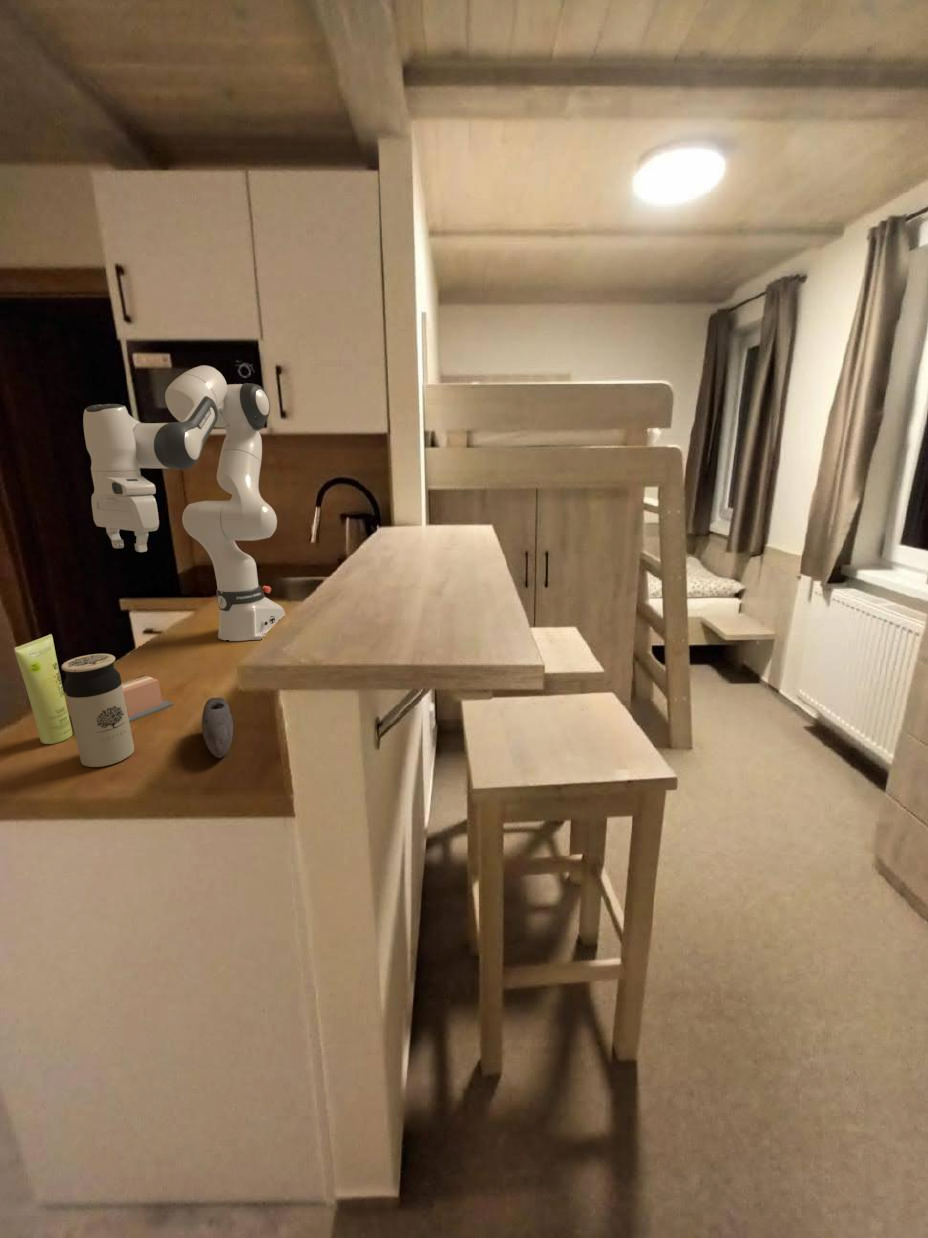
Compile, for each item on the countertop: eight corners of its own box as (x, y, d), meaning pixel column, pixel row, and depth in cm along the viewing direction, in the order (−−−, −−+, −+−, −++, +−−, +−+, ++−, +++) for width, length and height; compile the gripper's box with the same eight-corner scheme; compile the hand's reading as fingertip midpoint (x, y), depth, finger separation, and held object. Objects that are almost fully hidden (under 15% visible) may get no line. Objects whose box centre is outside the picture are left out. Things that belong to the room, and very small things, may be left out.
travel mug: (76, 756, 96) (55, 661, 91) (127, 740, 101) (110, 649, 96) (87, 774, 90) (64, 674, 85) (140, 756, 96) (122, 661, 91)
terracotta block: (116, 711, 112) (111, 686, 110) (150, 699, 117) (146, 675, 116) (128, 717, 110) (123, 691, 108) (162, 704, 115) (158, 679, 114)
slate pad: (153, 697, 119) (153, 695, 119) (173, 705, 116) (173, 703, 116) (105, 714, 111) (105, 712, 111) (124, 723, 108) (124, 722, 107)
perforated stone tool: (235, 763, 94) (230, 726, 92) (202, 769, 92) (196, 732, 90) (234, 725, 107) (230, 692, 105) (205, 730, 105) (200, 697, 103)
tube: (72, 741, 101) (50, 642, 95) (38, 749, 98) (13, 647, 93) (73, 729, 105) (51, 633, 100) (41, 736, 103) (16, 638, 97)
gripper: (78, 484, 118) (90, 547, 122) (128, 486, 108) (140, 556, 112) (109, 483, 123) (120, 544, 127) (159, 485, 113) (170, 551, 117)
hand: (129, 549), depth 119 cm, fingers open, 8 cm apart
